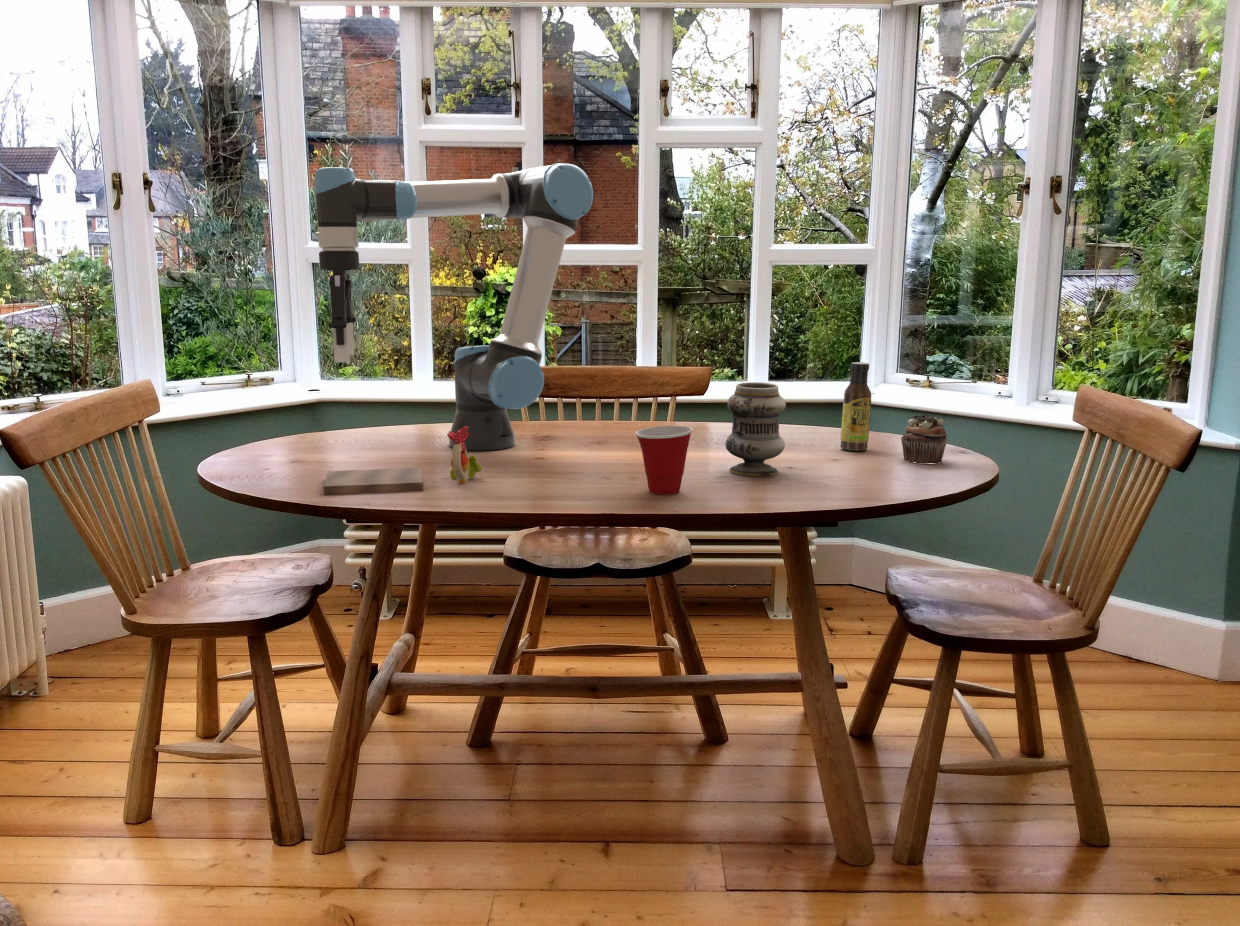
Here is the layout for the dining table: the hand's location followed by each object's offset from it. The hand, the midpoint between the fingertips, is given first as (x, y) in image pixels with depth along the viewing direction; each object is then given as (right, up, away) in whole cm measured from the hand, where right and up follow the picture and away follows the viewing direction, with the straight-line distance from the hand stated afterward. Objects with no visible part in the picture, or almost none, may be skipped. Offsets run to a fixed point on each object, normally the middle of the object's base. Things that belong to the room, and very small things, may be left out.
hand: (344, 358), depth 207 cm
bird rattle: (+24, -24, -3) cm, 35 cm away
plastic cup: (+63, -26, -12) cm, 69 cm away
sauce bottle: (+109, -18, +31) cm, 114 cm away
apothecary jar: (+82, -23, +6) cm, 86 cm away
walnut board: (+7, -25, -7) cm, 27 cm away
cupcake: (+121, -20, +19) cm, 124 cm away
